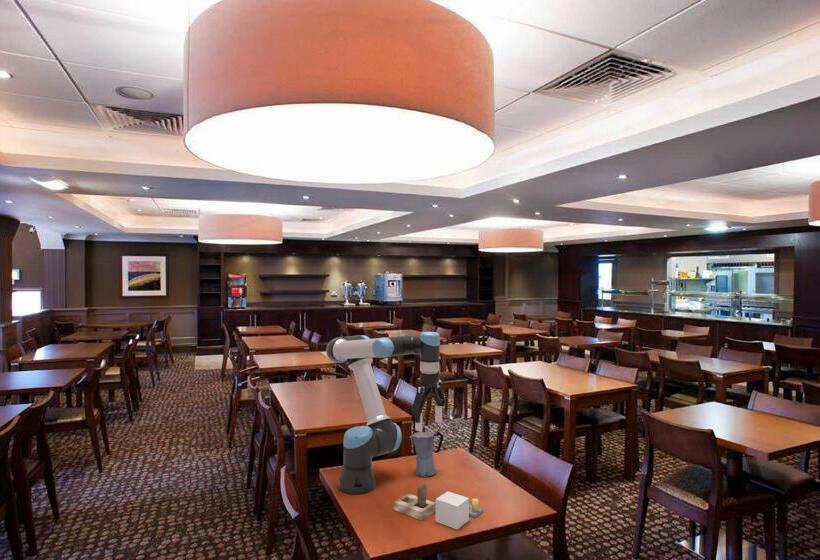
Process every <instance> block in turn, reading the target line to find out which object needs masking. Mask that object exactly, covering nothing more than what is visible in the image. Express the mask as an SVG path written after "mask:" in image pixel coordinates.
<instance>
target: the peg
mask: <svg viewBox="0 0 820 560" xmlns="http://www.w3.org/2000/svg"><path fill="white" fill-rule="evenodd" d="M417 497H418V503H417V507H420V508H425V507H426V500H427V485H426V484H424V483H420V484H418V485H417Z"/></svg>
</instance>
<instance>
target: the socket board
mask: <svg viewBox="0 0 820 560" xmlns="http://www.w3.org/2000/svg"><path fill="white" fill-rule="evenodd" d="M417 503H418V495H415V494H411V493H409V492H408V493H406V494H405V495H403V496H401V497H399V498H398V499H395V501H393V511H396V512H399V513H402V514H404V515H406V516H409V517H411V518H414V519H416V520H420V521H424V520H426V519H427V518H428V517H431V516H432V515H433V514H434V513H436V501H435V502H434V501H431V500H429V499H426V507H425V508H420V507H417Z"/></svg>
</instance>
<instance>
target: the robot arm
mask: <svg viewBox="0 0 820 560" xmlns="http://www.w3.org/2000/svg"><path fill="white" fill-rule="evenodd" d="M440 338H441V337H440V333H438V332H436V331H423V332H421V333H420V335H414V334H410V333H408V334H402V335H399V336H388V337H378V338H370V337H369V336H367V335H360V334H356V335H349V336H339V337H335V338H333V339H331V340H330V341H329V342H328V343H327V344H326V348H325V354H326V356H327V358H328V359H329V360H330V361H331V362H333V363H336V364H342V363H343V364H344V363H346V364H347V367H348V369H350V370H352V373H353V376H354V380H355V383H356V386H357V388H358V389H357V390H358V393H359V395H360V399H361V402H362V407H363V409H364V410H363V411H364V413H365V417H366V420H367V421H366V425H361V426H353V427H351V428H349V429H347V430H346V431H345V433H344V436H343V443H342V444H343V455H342V456H343V461H342V462H343V464H342V465H343V467H342V471H341V474H340V478H339V480H338V489H339V491H341V492H343V493H346V494H351V495H361V494H366V493H369V492H371V491H373V490H375V488H376V477H375V476H374V472H373V467H372V465H373V464H372V459H373V458H376V457H379V456H382V455H386V454H391V453H392V452H394V451H396V450H397V449H399V447H400V446H401V443H402V438H403V436H402V429H401V428H400V426H399V425H398V424H397V423H395V422H393V421H392V418H391V417H390V416H389V415H387V414H386V410H385V407H384V403H383V400H382V397H381V394H380V390H379V387H378V384H377V381H376V377H375V373H374V371H373V368H372V367H373V366H372V363H373V360H374V359H373V358H378V359H385V358H391V357H398V356H406V355H416V356H417V355H418V356H419V357H420V359H419V360H420V361H419V362H420V363H419V371H420V373H419V382H421V386H417V387H416V393H415V397H414V400H413V402H412V403H413V404H412V408H411V410H410V411H411V412H410V413H413V414H414V421H415V422H414V423H415V425H414V426H415V427H414V428H415V429H414V431H417V432H421V431H422V428H423V413H422V412H423V410H424V408H425V404H426V403H427V401H428V399H429V398H430V397H432V399H433V400H434V402H435V404H436V405H435V408H434V409H435V413H434V417H435V418H434V422H435V423H438V424H442V423H443V407H446V406H445V405H446V402H447V401H446V397H445V394H444V390H443V386H442V385H443V384H442V381H440V351H441V349H440V348H441V347H440V346H441V341H440V340H441V339H440Z"/></svg>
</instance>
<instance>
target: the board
mask: <svg viewBox="0 0 820 560" xmlns="http://www.w3.org/2000/svg"><path fill="white" fill-rule="evenodd" d="M479 501H480V500H479V498H475V497H474V498H471V504H470V503H469V517H471V518H474V519H476V518H478V516H480V515H481V514H482V513H484V508H481V507H479V506H480V505H479V504H480V502H479Z"/></svg>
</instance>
